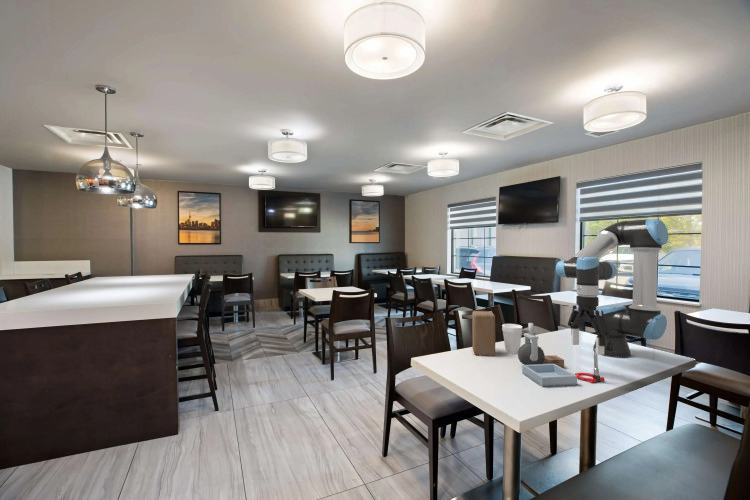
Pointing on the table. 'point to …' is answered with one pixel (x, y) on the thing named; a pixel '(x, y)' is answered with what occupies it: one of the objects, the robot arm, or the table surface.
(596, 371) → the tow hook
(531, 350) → the trolley wheel
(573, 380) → the tray
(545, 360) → the block
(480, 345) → the wooden block
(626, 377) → the table surface
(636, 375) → the table surface
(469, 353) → the table surface
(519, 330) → the foam cup
